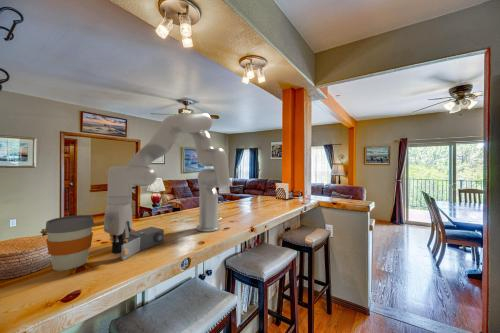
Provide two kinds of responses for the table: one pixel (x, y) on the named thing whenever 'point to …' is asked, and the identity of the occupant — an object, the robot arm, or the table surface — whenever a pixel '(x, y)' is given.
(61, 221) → the reusable coffee cup
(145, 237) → the camera body
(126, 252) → the side door
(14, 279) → the table surface
